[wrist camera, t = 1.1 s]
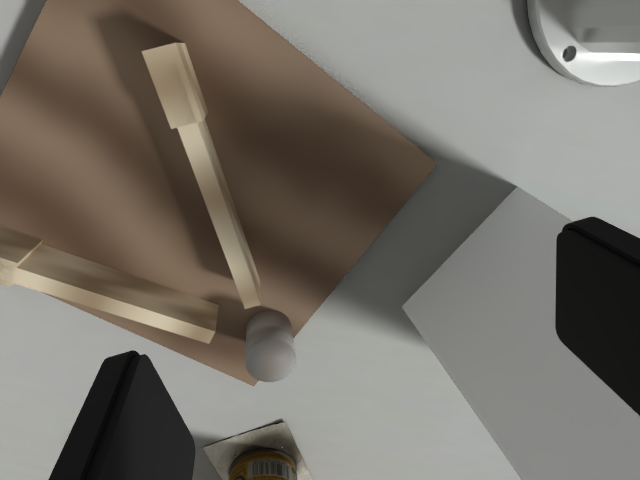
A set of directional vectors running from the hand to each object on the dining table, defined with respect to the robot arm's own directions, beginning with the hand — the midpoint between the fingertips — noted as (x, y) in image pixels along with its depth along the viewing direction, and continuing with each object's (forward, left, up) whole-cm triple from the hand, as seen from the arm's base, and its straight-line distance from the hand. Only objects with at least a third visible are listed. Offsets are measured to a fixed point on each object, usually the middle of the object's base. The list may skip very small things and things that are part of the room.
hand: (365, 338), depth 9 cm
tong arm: (+4, -3, -18) cm, 18 cm away
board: (+6, -3, -19) cm, 20 cm away
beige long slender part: (+13, -3, -18) cm, 22 cm away
